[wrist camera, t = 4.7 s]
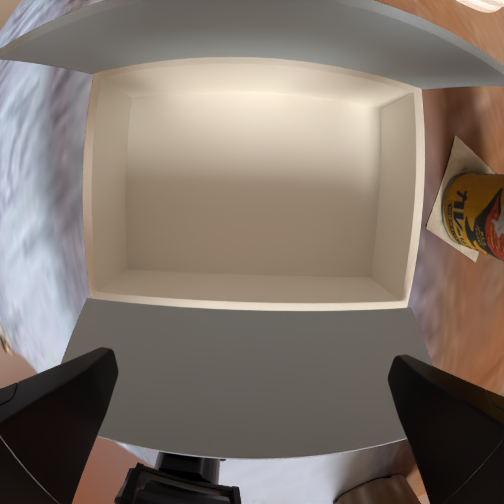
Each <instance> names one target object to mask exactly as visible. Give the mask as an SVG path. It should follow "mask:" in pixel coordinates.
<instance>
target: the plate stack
mask: <svg viewBox="0 0 504 504" xmlns="http://www.w3.org/2000/svg"><path fill="white" fill-rule="evenodd" d="M456 1H458V2H460V3H462V4H464V5H466V6H468V7H471V8H473V9H476V10H478V11H482V12H487V13H491V12H495V11H497V10H499V9H500V8H501V7H504V0H456Z"/></svg>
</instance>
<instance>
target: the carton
mask: <svg viewBox="0 0 504 504" xmlns="http://www.w3.org/2000/svg"><path fill="white" fill-rule="evenodd" d="M424 171H425V138H424V116H423V102H422V92H421V89H420V88H417V87H415V86H412V85H408V84H405V83H402V82H399V81H396V80H392V79H389V78H385V77H381V76H378V75H374V74H370V73H365V72H361V71H357V70H352V69H347V68H342V67H337V66H331V65H325V64H319V63H312V62H304V61H296V60H286V59H274V58H257V57H204V58H187V59H175V60H166V61H157V62H150V63H143V64H137V65H131V66H125V67H120V68H115V69H110V70H106V71H101V72H97V73H94V75H93V81H92V86H91V92H90V99H89V106H88V113H87V122H86V131H85V143H84V159H83V226H84V242H85V254H86V264H87V273H88V280H89V288H90V294H91V298H92V299H100V300H109V301H118V302H128V303H139V304H150V305H162V306H176V307H191V308H209V309H231V310H264V311H342V310H374V309H395V308H407V305H408V300H409V296H410V291H411V286H412V281H413V275H414V270H415V264H416V258H417V251H418V244H419V237H420V228H421V219H422V208H423V194H424Z"/></svg>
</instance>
